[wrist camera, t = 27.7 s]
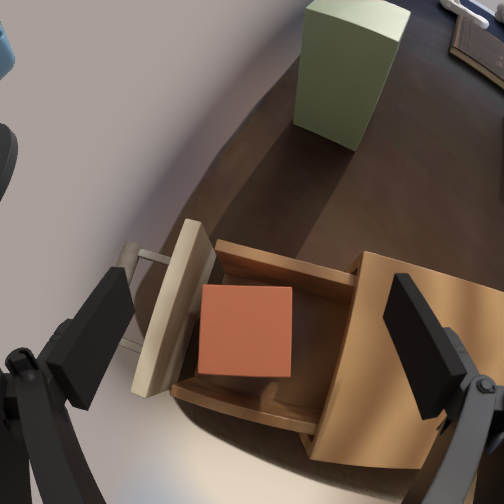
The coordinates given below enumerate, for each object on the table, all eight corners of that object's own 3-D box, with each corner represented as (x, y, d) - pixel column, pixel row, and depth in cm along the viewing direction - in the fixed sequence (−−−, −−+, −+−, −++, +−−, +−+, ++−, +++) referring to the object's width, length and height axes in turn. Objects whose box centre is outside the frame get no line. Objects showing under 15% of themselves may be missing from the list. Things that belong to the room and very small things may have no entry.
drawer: (115, 361, 26) (69, 362, 19) (155, 238, 30) (124, 203, 22) (333, 427, 24) (358, 454, 16) (367, 294, 27) (402, 274, 20)
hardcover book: (509, 55, 43) (512, 49, 41) (513, 99, 38) (519, 92, 35) (455, 19, 46) (458, 13, 44) (447, 52, 40) (451, 44, 38)
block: (219, 364, 25) (197, 373, 16) (222, 306, 26) (201, 284, 17) (280, 367, 25) (290, 377, 16) (281, 308, 26) (292, 286, 17)
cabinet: (294, 424, 25) (309, 459, 16) (332, 281, 29) (363, 250, 20) (443, 441, 23) (499, 463, 14) (471, 317, 27) (532, 301, 18)
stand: (355, 152, 33) (399, 42, 18) (292, 123, 35) (304, 8, 19) (373, 110, 35) (411, 11, 20) (317, 86, 37) (334, -17, 21)
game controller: (490, 19, 44) (491, 22, 39) (484, 31, 47) (485, 35, 43) (444, -9, 47) (439, -10, 42) (439, 2, 50) (434, 3, 46)
